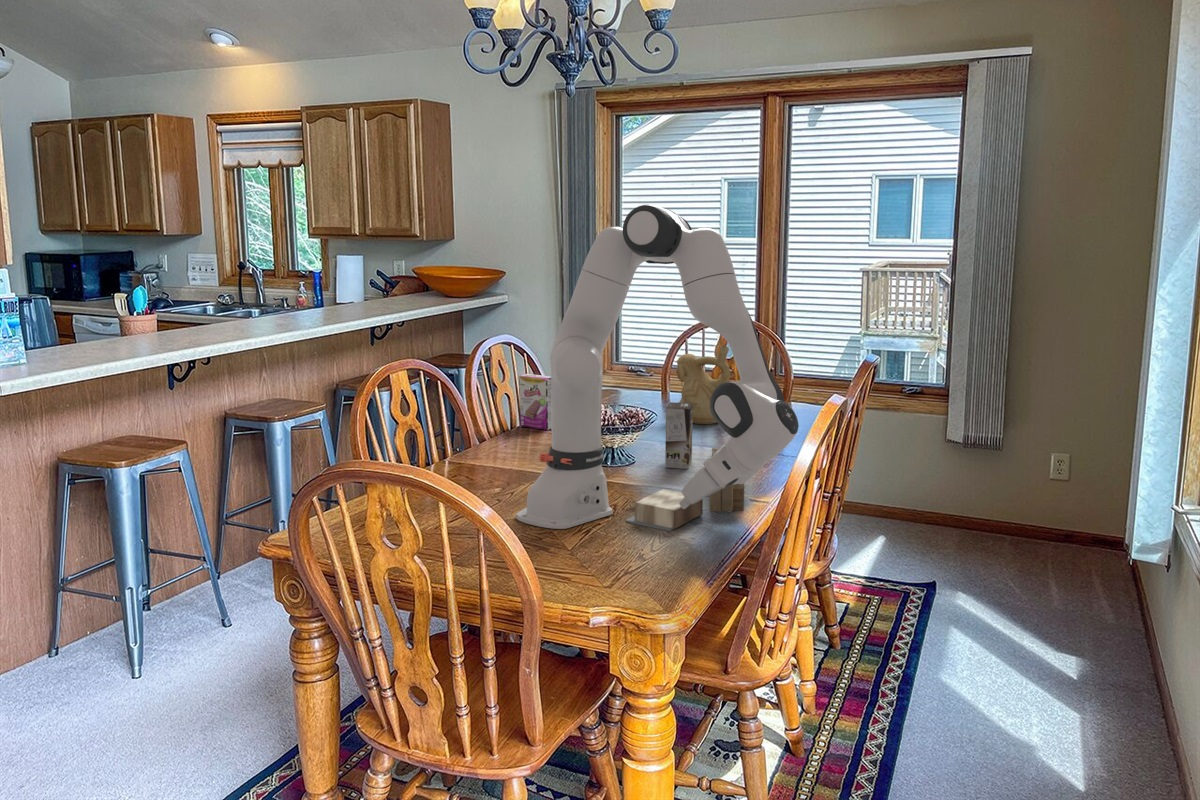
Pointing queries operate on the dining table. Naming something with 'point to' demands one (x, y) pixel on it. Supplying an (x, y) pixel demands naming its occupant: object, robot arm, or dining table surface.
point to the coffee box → (678, 435)
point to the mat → (648, 524)
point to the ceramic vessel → (701, 383)
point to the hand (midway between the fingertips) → (693, 500)
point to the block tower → (727, 496)
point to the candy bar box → (535, 401)
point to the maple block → (666, 509)
